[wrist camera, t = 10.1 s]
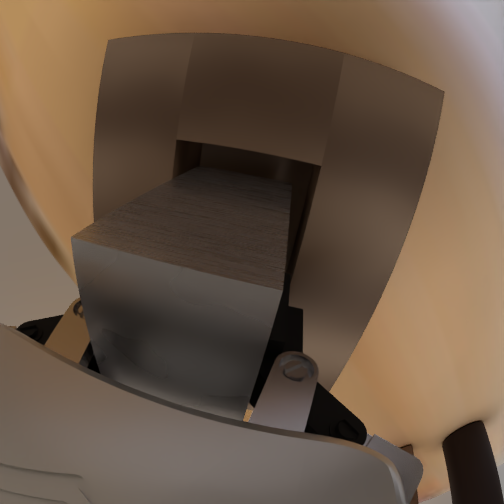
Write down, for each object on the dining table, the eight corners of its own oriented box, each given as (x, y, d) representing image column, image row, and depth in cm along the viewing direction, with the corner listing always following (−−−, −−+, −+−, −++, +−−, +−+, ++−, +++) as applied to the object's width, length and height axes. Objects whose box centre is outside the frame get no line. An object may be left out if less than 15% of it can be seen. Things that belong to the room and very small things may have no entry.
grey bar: (199, 165, 12) (71, 236, 5) (292, 183, 12) (282, 290, 4) (185, 325, 16) (128, 442, 9) (253, 342, 16) (224, 472, 8)
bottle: (434, 442, 25) (448, 564, 7) (476, 416, 22) (503, 542, 4) (450, 448, 26) (464, 554, 8) (487, 424, 23) (511, 533, 5)
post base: (153, 54, 12) (108, 39, 8) (405, 98, 12) (444, 91, 8) (141, 330, 21) (116, 368, 17) (311, 372, 21) (310, 419, 17)
